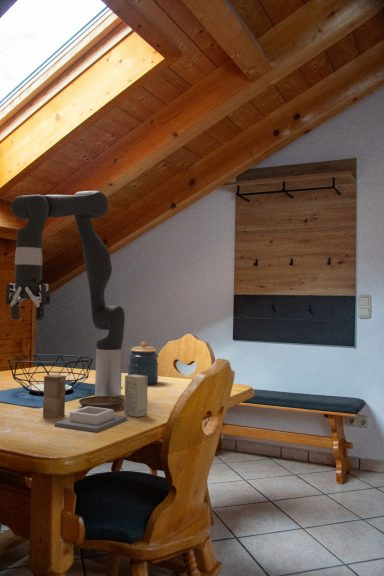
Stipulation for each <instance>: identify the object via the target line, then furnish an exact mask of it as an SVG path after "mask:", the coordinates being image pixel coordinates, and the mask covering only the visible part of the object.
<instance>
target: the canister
mask: <svg viewBox="0 0 384 576" xmlns="http://www.w3.org/2000/svg"><path fill="white" fill-rule="evenodd" d="M157 351H158V350H157V349H156V348H155V347H154V346H148V343H147V342H146V341H142V342H140V345H139V346H133V347H132V348H131V349H130V353H129V354H128V355H127V356H128V358H129V361H128V362H127V365H128V367H127V370H128V371H127V375H134V374H135V375H142V376H147V386H153V385H156V384H158V381H159V377H158V375H159V374H158V372H159V371H158V370H159V362H158V358H159V354H157Z"/></svg>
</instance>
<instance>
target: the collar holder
mask: <svg viewBox="0 0 384 576" xmlns="http://www.w3.org/2000/svg"><path fill="white" fill-rule="evenodd" d="M114 413H115V410H114V409H106V408H98V407H91V406H87V407H82V408H78V409H75V410H72V411H70V412H69V417H67V418H66V417H65V418H64V419H60V420H58V421H54V424H53V425H54V427H57V428H58V427H59V428H65V429H71V430H77V431H79V430H80V431H85V432H91V433H92V432H93V433H99V432H101V430H102V431H104V430H106V429H108V428H111V427H113V426H117V425H118V424H121V423H124V422H126V421H128V416H127V415H126V416H125V415H119V414H117V415H116V414H114Z"/></svg>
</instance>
